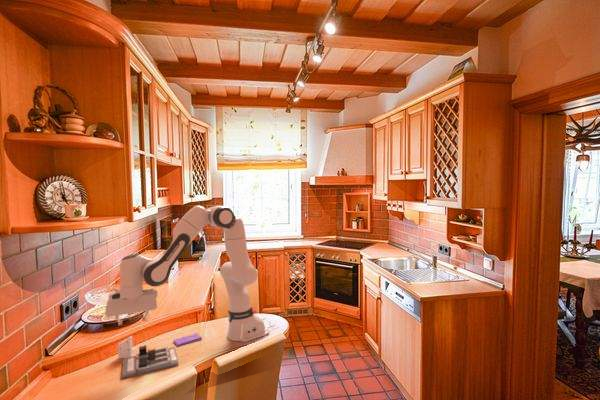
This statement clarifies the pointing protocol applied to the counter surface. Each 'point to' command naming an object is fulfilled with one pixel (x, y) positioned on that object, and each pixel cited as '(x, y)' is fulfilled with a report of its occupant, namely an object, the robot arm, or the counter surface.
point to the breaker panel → (149, 361)
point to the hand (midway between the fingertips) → (132, 322)
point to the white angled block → (126, 348)
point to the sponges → (187, 339)
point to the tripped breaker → (151, 353)
